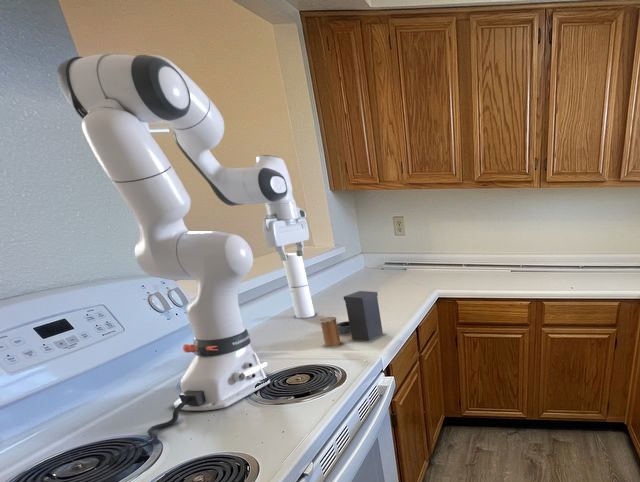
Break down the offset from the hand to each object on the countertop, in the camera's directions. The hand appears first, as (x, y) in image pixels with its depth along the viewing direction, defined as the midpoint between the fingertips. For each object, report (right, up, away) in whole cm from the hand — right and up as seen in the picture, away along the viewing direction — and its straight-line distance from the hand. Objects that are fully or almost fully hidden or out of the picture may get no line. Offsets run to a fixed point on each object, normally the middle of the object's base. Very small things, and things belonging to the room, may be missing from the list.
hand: (293, 258), depth 138 cm
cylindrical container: (-13, -14, +36) cm, 41 cm away
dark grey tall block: (+23, -26, +7) cm, 35 cm away
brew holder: (+13, -23, +14) cm, 30 cm away
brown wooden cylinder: (+13, -29, +1) cm, 32 cm away
